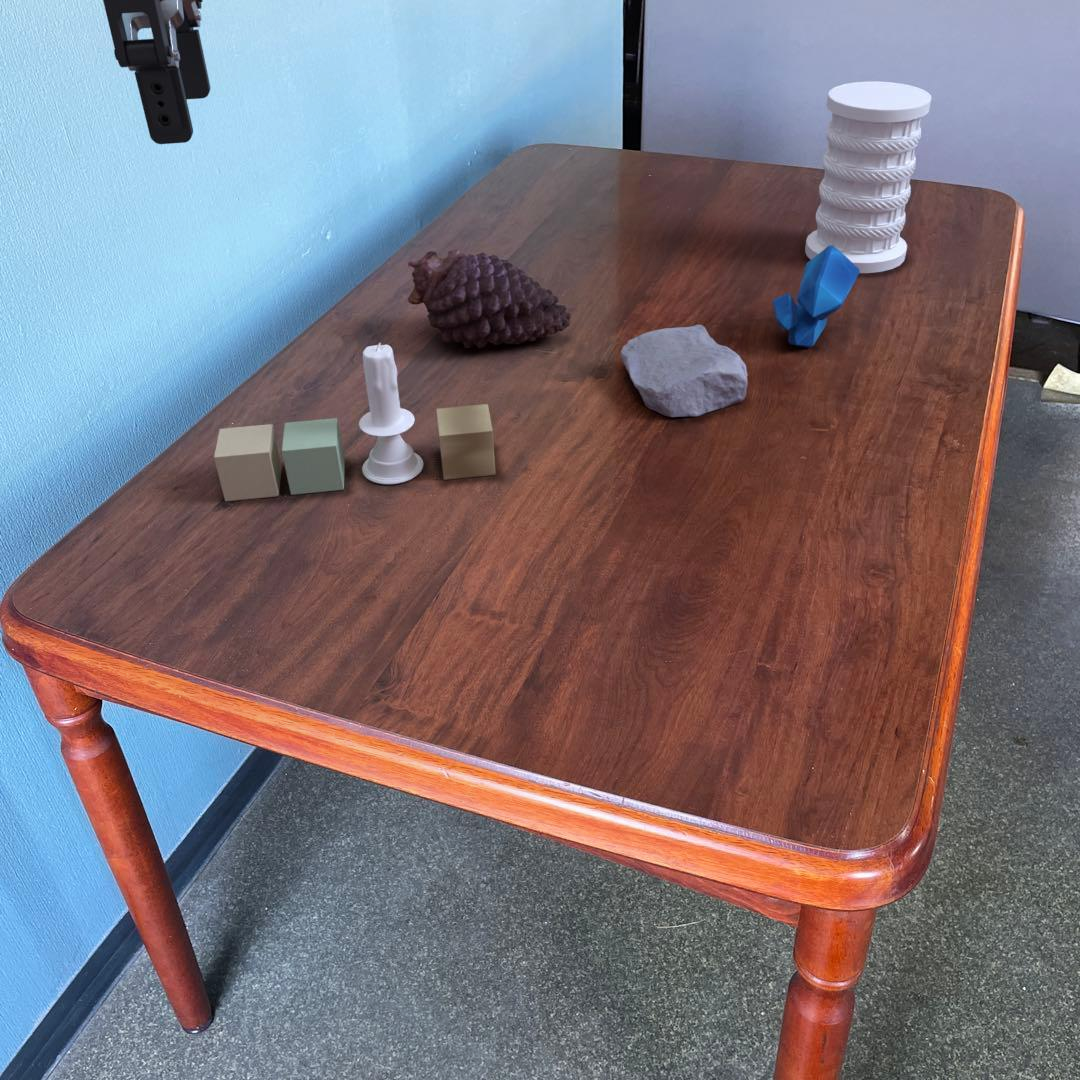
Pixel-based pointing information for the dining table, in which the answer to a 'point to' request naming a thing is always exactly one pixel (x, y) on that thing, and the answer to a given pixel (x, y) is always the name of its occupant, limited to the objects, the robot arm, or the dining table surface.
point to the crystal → (816, 296)
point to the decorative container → (868, 172)
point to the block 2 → (313, 456)
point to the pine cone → (484, 300)
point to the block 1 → (248, 462)
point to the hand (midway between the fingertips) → (183, 118)
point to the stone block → (684, 371)
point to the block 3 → (466, 441)
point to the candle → (386, 421)
